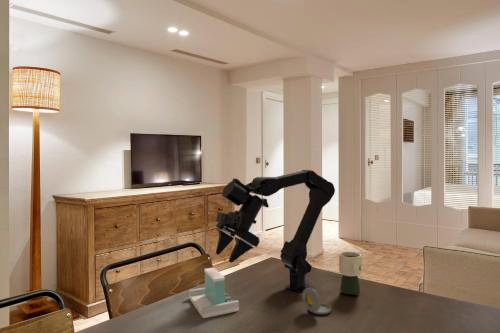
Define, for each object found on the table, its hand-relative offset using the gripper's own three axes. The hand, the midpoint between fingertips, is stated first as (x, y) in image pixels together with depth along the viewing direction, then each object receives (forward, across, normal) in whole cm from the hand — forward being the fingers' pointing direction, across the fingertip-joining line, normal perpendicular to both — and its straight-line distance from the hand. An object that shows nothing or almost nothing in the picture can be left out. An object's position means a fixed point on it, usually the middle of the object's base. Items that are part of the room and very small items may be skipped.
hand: (223, 257), depth 110 cm
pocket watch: (0, +17, +27) cm, 32 cm away
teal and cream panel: (+12, -3, +6) cm, 14 cm away
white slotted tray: (+13, -3, +7) cm, 15 cm away
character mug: (-10, +13, +42) cm, 45 cm away
